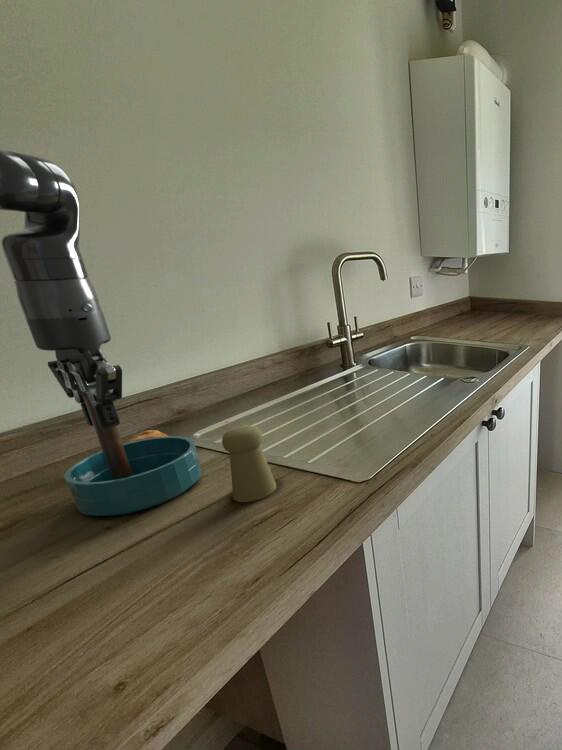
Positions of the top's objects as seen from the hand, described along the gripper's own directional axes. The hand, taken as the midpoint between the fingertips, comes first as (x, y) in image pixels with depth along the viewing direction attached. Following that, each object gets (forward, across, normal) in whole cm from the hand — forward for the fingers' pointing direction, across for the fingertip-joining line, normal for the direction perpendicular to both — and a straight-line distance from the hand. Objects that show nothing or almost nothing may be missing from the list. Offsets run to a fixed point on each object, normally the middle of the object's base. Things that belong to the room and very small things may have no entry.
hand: (104, 424), depth 63 cm
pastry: (+12, -10, +9) cm, 18 cm away
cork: (+12, +20, +7) cm, 24 cm away
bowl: (+11, +3, +1) cm, 12 cm away
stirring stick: (+9, 0, 0) cm, 9 cm away
